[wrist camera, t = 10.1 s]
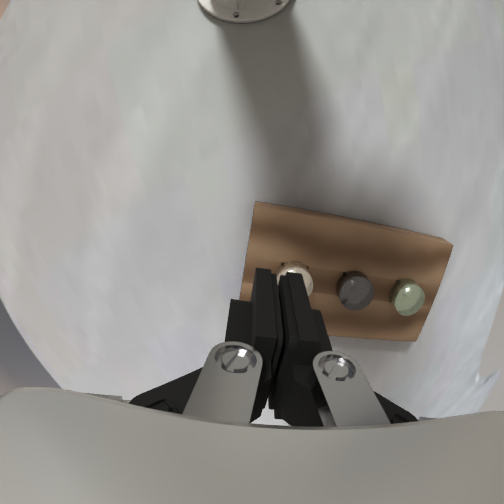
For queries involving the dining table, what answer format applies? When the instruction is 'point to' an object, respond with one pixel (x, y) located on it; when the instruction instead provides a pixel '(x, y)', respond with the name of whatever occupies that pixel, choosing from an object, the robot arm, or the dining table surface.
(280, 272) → the knob cream
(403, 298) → the knob sage
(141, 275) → the dining table surface
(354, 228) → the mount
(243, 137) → the dining table surface
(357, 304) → the knob charcoal
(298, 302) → the robot arm
